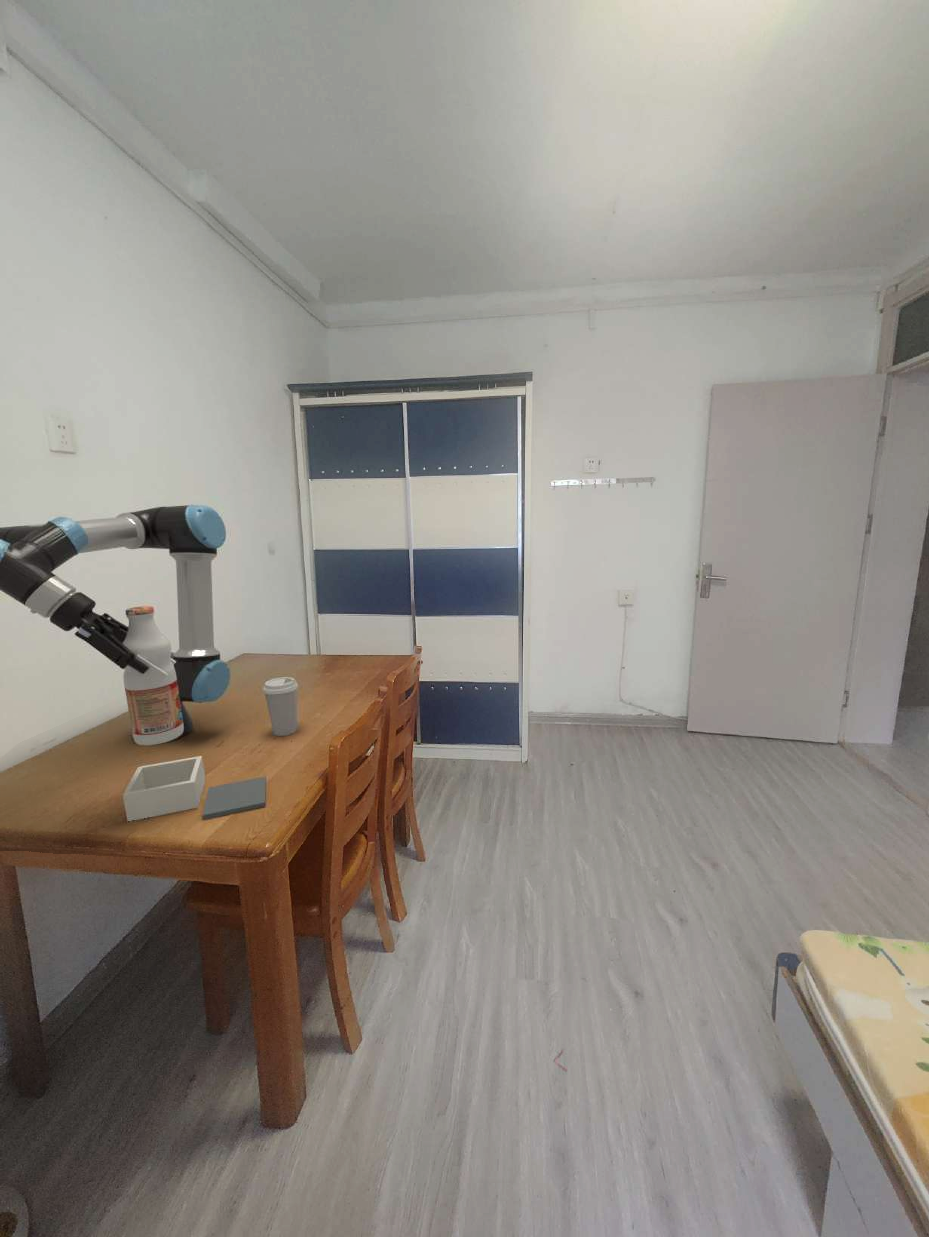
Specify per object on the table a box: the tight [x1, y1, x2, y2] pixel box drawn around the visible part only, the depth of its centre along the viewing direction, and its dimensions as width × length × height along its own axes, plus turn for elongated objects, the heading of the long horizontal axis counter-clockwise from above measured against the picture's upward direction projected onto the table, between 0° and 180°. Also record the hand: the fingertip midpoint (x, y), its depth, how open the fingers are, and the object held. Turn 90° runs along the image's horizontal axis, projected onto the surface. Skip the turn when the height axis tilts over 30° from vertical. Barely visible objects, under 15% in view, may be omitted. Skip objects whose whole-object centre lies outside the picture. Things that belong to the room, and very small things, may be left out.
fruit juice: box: [122, 605, 184, 746], centre depth 107 cm, size 9×9×28 cm
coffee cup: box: [262, 676, 299, 737], centre depth 146 cm, size 10×10×15 cm
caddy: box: [122, 755, 206, 822], centre depth 113 cm, size 13×13×6 cm
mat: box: [201, 775, 267, 821], centre depth 112 cm, size 12×12×1 cm
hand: (167, 672), depth 108 cm, fingers closed on fruit juice, 9 cm apart
